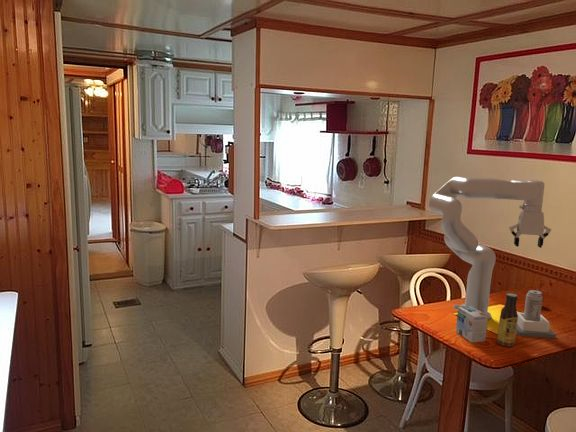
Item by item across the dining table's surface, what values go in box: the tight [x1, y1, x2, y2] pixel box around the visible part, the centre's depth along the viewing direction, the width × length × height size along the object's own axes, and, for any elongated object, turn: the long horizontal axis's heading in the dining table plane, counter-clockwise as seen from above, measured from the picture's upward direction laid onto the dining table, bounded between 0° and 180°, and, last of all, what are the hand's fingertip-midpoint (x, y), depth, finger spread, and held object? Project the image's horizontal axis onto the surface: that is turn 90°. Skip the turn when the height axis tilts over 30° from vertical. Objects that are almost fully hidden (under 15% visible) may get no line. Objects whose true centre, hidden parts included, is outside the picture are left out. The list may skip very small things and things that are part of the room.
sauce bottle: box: [496, 292, 519, 347], centre depth 192 cm, size 6×6×20 cm
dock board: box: [516, 311, 557, 339], centre depth 207 cm, size 14×14×6 cm
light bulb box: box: [455, 306, 489, 343], centre depth 199 cm, size 11×7×11 cm, turn 16°
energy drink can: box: [523, 289, 544, 321], centre depth 206 cm, size 6×6×15 cm
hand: (528, 246), depth 223 cm, fingers open, 9 cm apart
